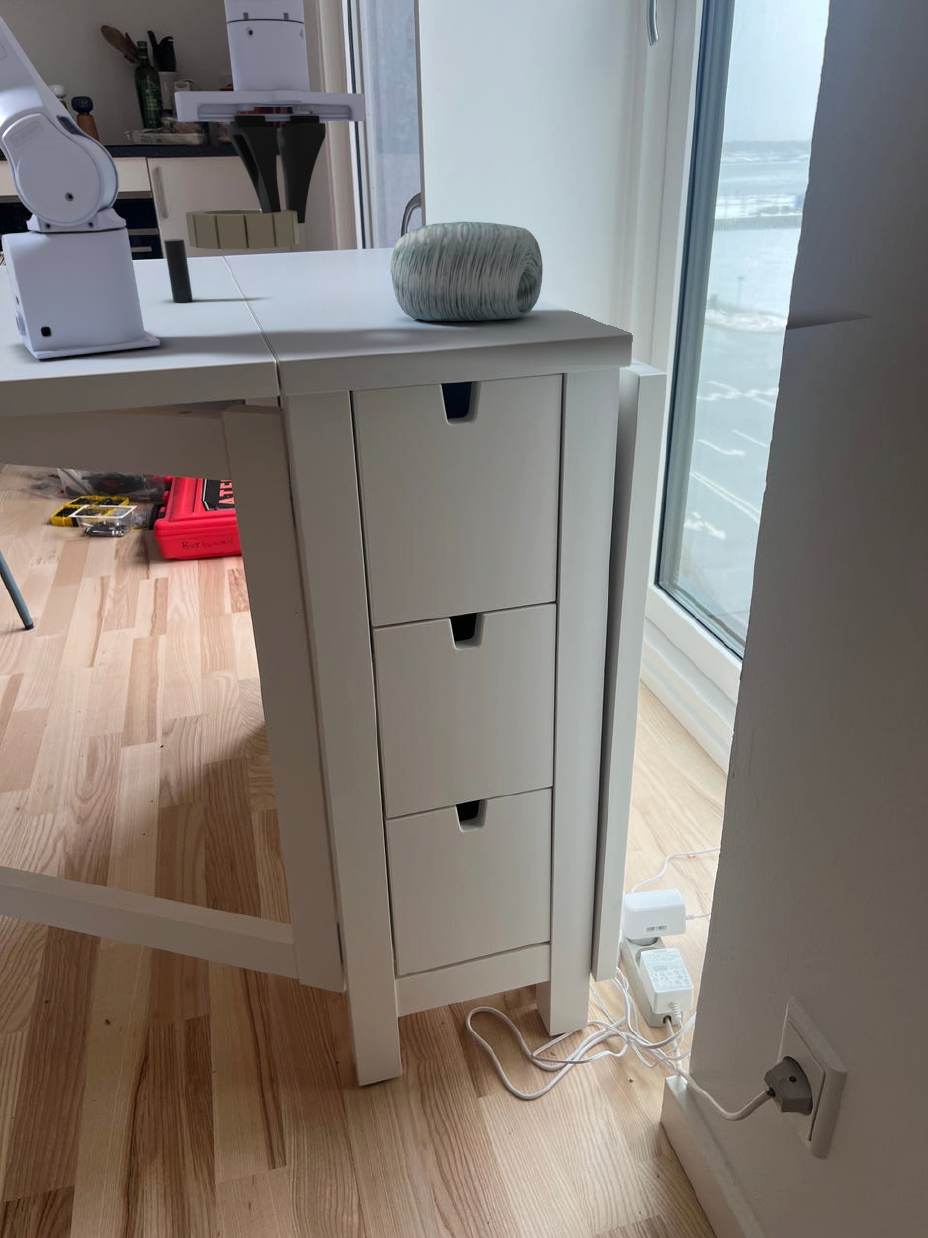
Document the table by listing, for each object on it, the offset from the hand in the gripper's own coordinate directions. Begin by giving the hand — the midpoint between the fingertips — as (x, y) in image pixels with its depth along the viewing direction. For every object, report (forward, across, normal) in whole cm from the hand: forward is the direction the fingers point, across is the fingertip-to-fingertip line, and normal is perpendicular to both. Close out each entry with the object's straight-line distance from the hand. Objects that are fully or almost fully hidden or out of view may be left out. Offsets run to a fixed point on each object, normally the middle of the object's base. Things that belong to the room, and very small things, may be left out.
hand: (284, 223), depth 75 cm
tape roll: (+1, -4, 0) cm, 4 cm away
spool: (+9, +16, -2) cm, 18 cm away
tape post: (+9, -3, +26) cm, 27 cm away
